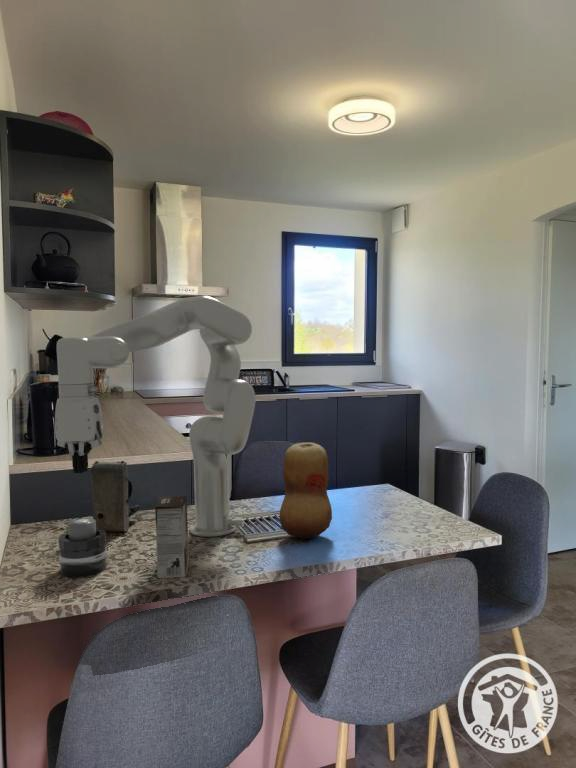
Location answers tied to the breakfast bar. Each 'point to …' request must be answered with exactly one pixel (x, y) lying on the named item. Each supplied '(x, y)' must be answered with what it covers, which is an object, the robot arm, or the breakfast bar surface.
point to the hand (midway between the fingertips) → (80, 471)
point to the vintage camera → (111, 496)
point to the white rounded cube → (82, 529)
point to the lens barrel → (82, 555)
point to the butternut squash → (305, 491)
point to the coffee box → (172, 536)
